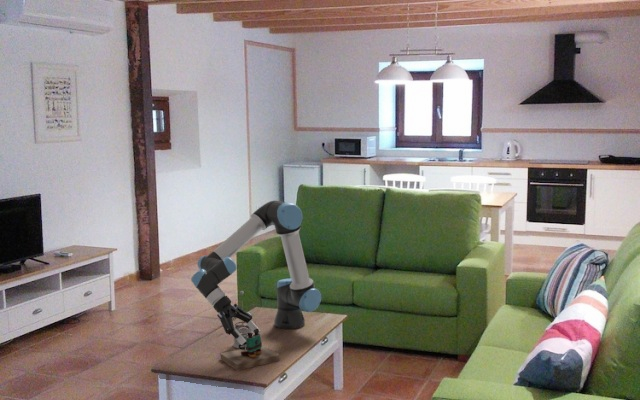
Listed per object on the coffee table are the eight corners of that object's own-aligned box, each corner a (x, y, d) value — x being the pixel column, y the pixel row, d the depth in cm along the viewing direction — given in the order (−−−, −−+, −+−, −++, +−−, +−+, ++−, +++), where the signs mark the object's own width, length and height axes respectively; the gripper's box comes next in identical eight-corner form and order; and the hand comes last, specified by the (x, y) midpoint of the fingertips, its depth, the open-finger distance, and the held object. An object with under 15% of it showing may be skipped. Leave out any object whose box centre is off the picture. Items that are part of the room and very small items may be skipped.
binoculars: (245, 327, 298) (263, 328, 292) (247, 350, 298) (266, 352, 293) (232, 332, 290) (251, 334, 285) (234, 357, 291) (253, 358, 286)
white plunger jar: (250, 348, 306) (249, 294, 303) (225, 347, 309) (224, 293, 306) (256, 341, 316) (255, 288, 313) (232, 340, 318) (231, 287, 315)
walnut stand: (261, 349, 305) (261, 344, 304) (279, 360, 291) (279, 354, 291) (220, 359, 294) (220, 353, 293) (237, 370, 280) (236, 364, 280)
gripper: (228, 298, 307) (259, 334, 304) (198, 314, 284) (231, 353, 281) (238, 288, 305) (269, 324, 301) (209, 302, 282) (242, 342, 278)
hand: (251, 338), depth 291 cm, fingers open, 13 cm apart
